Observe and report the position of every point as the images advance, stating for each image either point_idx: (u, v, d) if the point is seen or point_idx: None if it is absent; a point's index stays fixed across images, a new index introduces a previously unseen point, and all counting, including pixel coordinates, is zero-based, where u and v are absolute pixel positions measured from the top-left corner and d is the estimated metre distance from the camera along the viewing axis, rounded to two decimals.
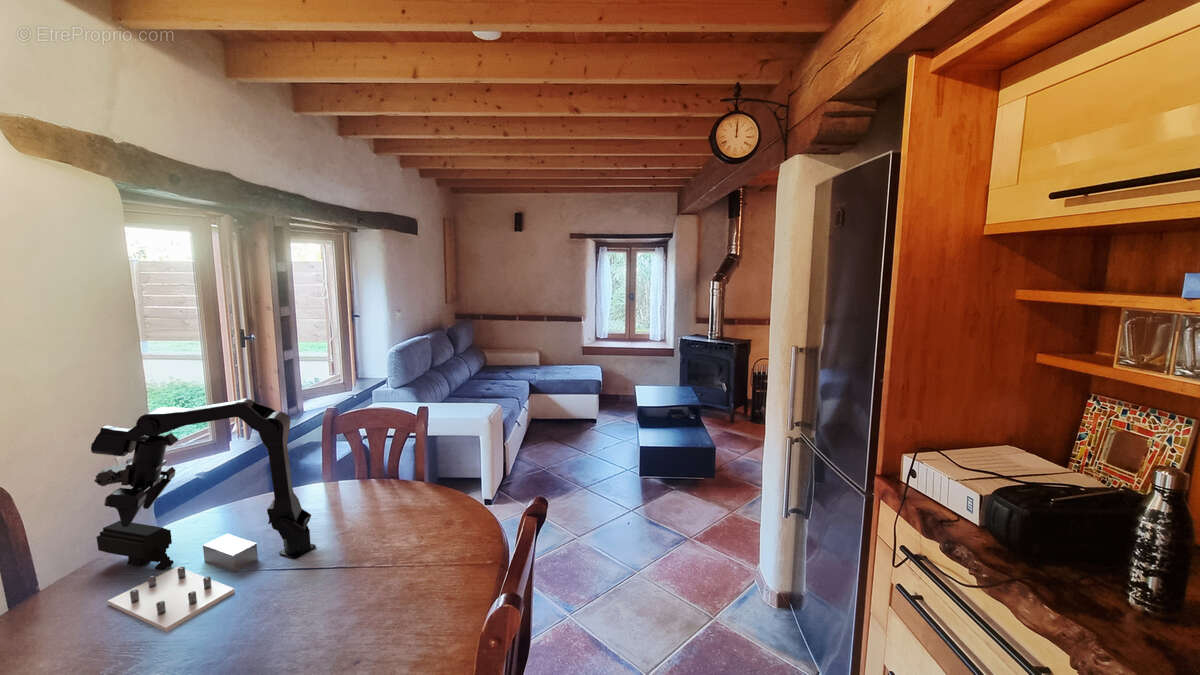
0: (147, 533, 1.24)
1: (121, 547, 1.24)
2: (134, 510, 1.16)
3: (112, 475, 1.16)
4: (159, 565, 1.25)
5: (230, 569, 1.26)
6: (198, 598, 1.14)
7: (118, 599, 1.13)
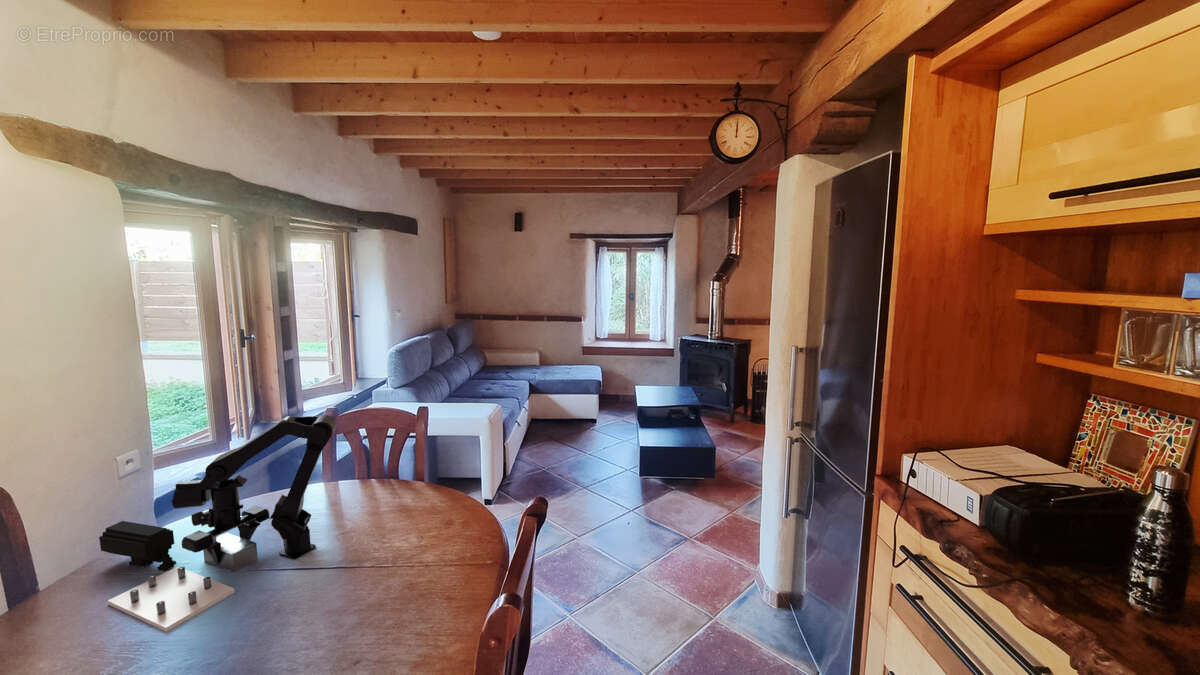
0: (150, 534, 1.24)
1: (123, 547, 1.24)
2: (213, 550, 1.24)
3: (200, 517, 1.27)
4: (162, 565, 1.25)
5: (230, 568, 1.26)
6: (198, 598, 1.14)
7: (118, 599, 1.13)
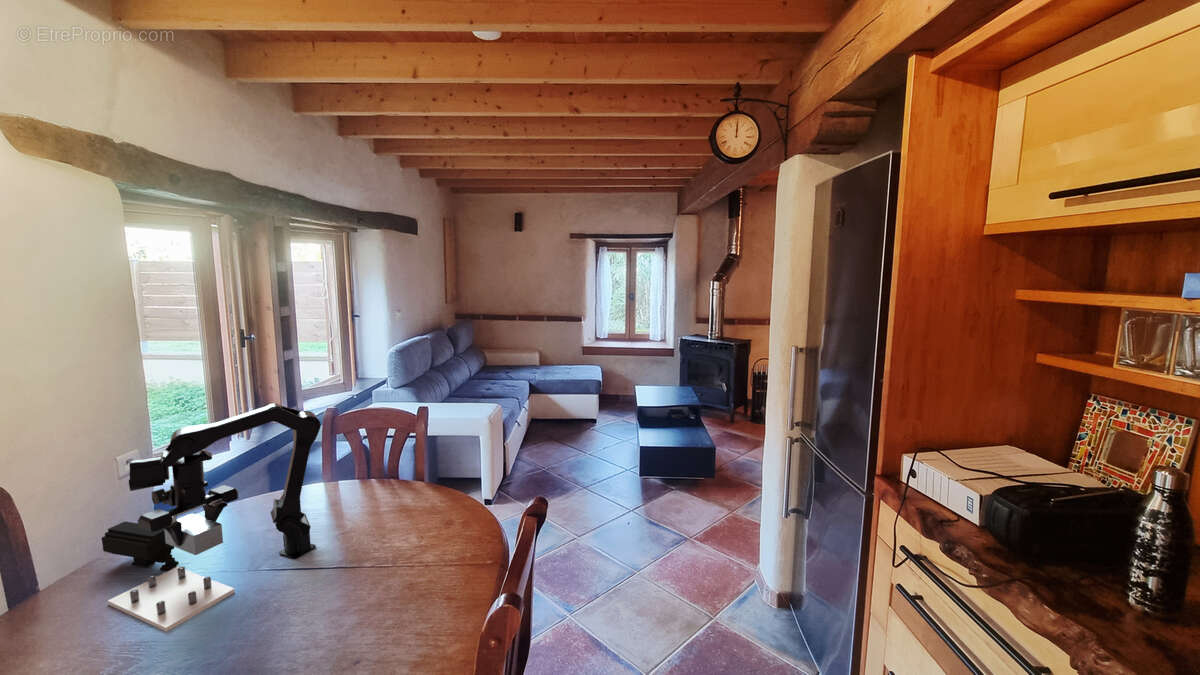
0: (152, 534, 1.24)
1: (126, 548, 1.23)
2: (172, 530, 1.14)
3: (160, 495, 1.17)
4: (164, 566, 1.25)
5: (191, 551, 1.16)
6: (198, 598, 1.14)
7: (118, 599, 1.13)
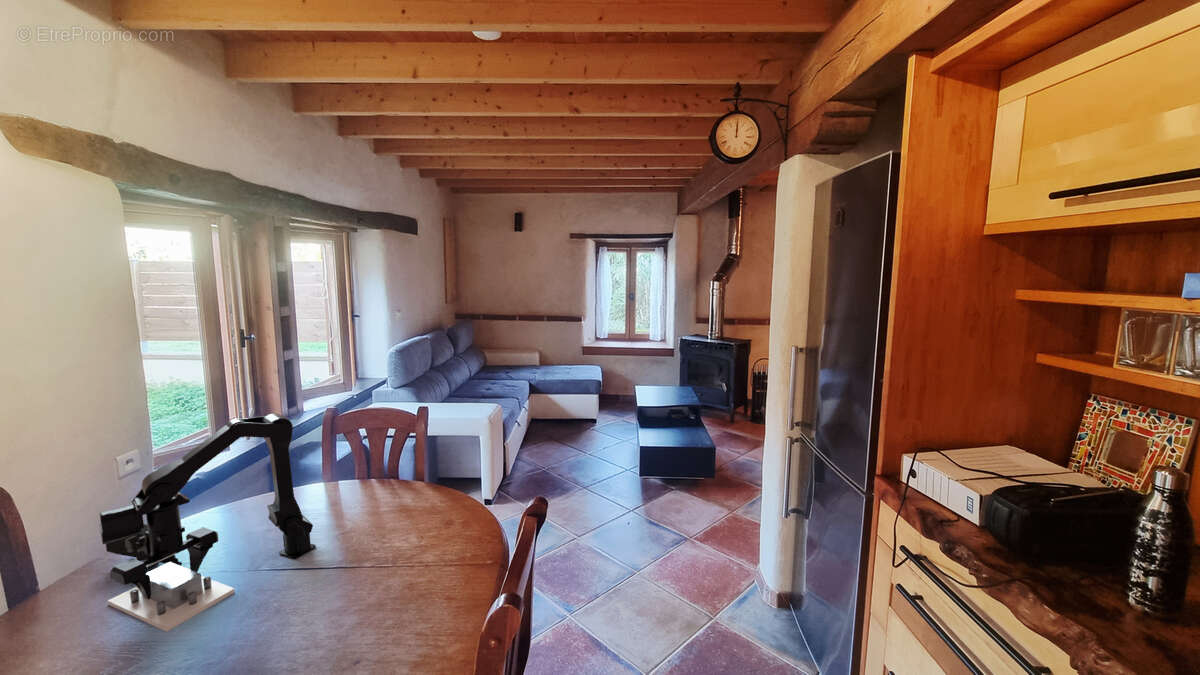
0: None
1: None
2: (140, 584, 1.08)
3: (134, 543, 1.11)
4: None
5: (169, 604, 1.11)
6: (198, 598, 1.14)
7: (118, 599, 1.13)
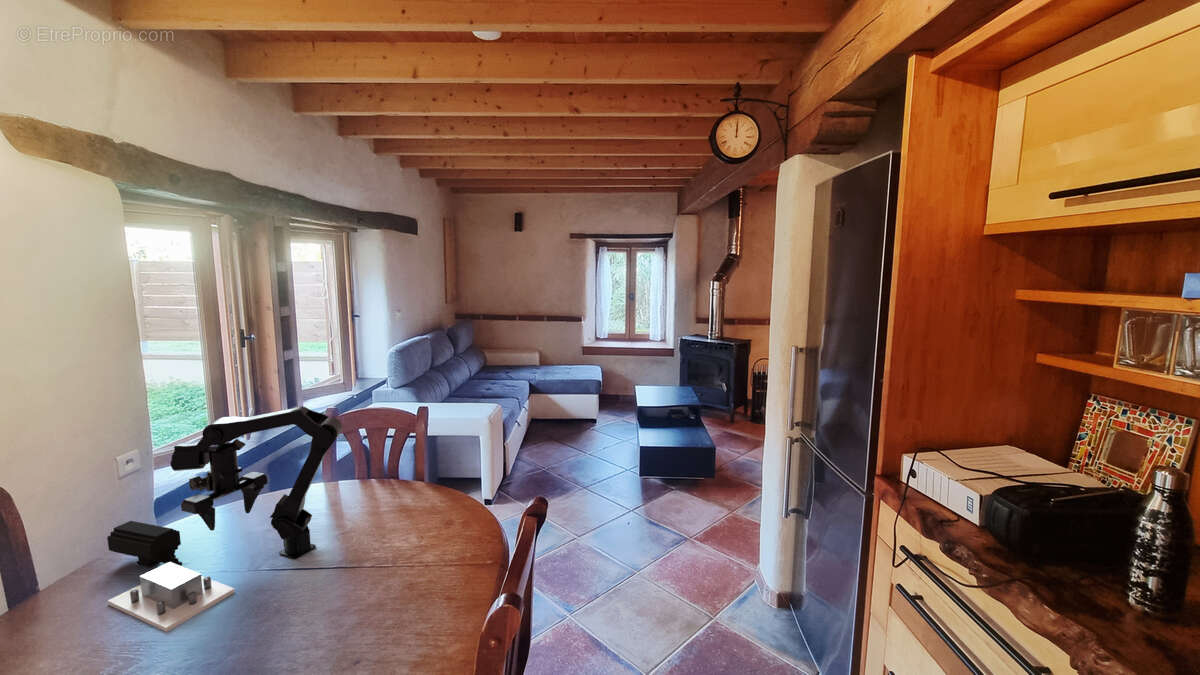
0: (156, 534, 1.24)
1: (130, 547, 1.24)
2: (207, 515, 1.22)
3: (198, 481, 1.26)
4: None
5: (169, 604, 1.11)
6: (198, 598, 1.14)
7: (118, 599, 1.13)
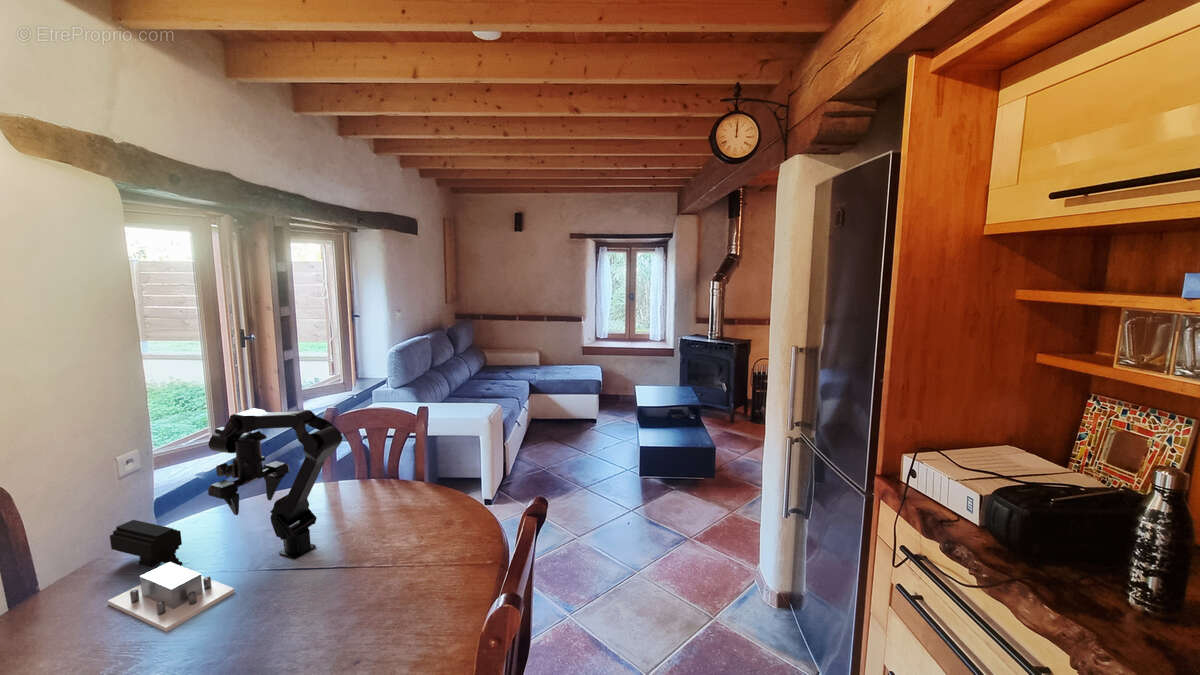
0: (157, 534, 1.24)
1: (132, 547, 1.24)
2: (232, 501, 1.29)
3: (224, 468, 1.33)
4: None
5: (169, 604, 1.11)
6: (198, 598, 1.14)
7: (118, 599, 1.13)
